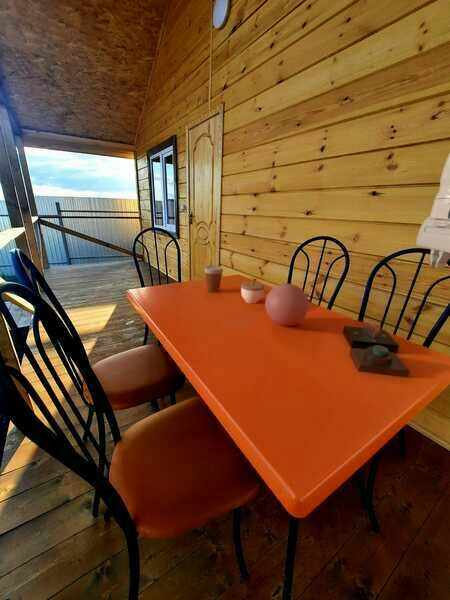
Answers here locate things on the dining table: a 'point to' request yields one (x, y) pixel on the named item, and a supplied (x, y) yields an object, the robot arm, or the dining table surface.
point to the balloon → (286, 304)
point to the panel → (369, 339)
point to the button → (380, 351)
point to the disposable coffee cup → (213, 278)
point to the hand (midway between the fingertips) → (436, 268)
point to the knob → (371, 329)
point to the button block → (378, 363)
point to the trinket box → (252, 291)
